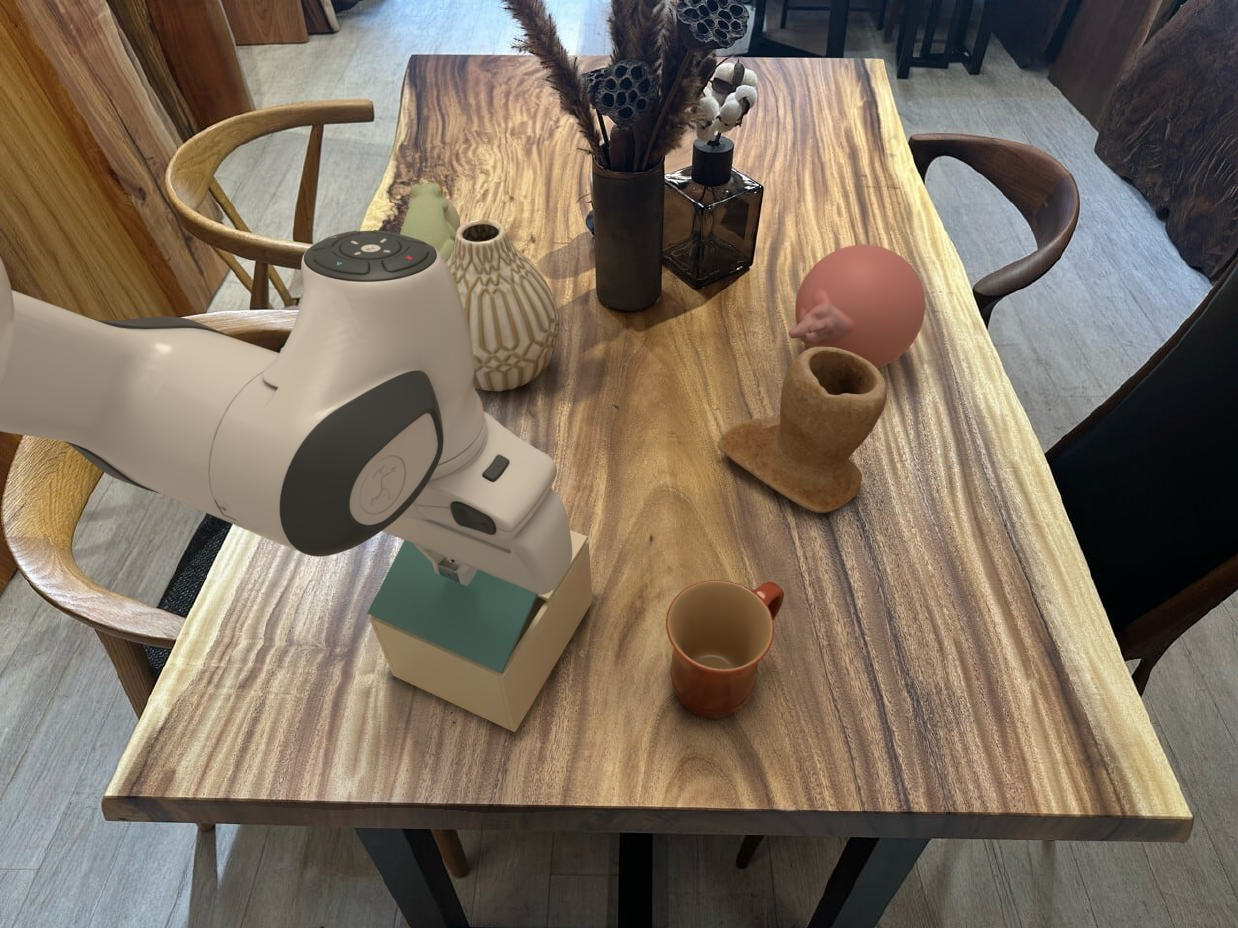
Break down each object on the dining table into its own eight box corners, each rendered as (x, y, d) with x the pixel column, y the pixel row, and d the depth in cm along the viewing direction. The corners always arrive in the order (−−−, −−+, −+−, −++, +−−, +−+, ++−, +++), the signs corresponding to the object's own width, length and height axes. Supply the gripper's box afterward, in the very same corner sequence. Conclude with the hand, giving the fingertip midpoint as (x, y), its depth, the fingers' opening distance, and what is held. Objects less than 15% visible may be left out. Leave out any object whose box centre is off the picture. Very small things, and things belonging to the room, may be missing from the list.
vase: (571, 402, 100) (560, 261, 85) (441, 419, 98) (408, 278, 83) (554, 326, 110) (542, 189, 96) (437, 340, 109) (407, 203, 94)
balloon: (736, 361, 105) (748, 258, 94) (846, 309, 112) (869, 208, 101) (819, 428, 96) (844, 323, 85) (932, 367, 104) (969, 263, 92)
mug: (709, 751, 69) (719, 693, 61) (642, 680, 73) (644, 618, 66) (803, 670, 74) (823, 607, 66) (735, 608, 79) (746, 543, 71)
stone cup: (884, 477, 90) (919, 373, 80) (817, 533, 85) (845, 430, 74) (779, 410, 98) (798, 308, 87) (712, 457, 93) (723, 354, 82)
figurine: (475, 227, 129) (465, 167, 121) (459, 286, 117) (448, 224, 110) (412, 227, 129) (399, 167, 122) (390, 286, 118) (374, 224, 110)
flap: (502, 673, 63) (500, 672, 62) (368, 614, 67) (366, 613, 66) (541, 586, 65) (540, 585, 65) (409, 534, 69) (407, 532, 68)
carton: (515, 732, 70) (501, 673, 62) (392, 675, 74) (366, 612, 66) (592, 601, 79) (588, 535, 72) (480, 556, 83) (465, 490, 76)
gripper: (274, 438, 56) (328, 558, 66) (530, 535, 50) (547, 651, 60) (333, 384, 60) (376, 505, 70) (577, 467, 54) (586, 587, 64)
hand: (456, 573), depth 65 cm, fingers closed
